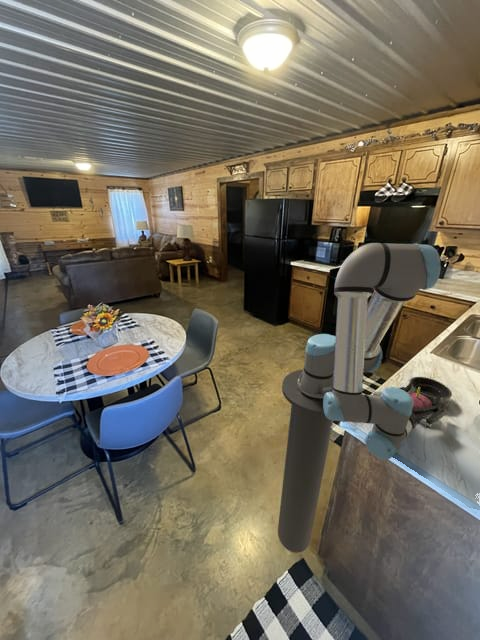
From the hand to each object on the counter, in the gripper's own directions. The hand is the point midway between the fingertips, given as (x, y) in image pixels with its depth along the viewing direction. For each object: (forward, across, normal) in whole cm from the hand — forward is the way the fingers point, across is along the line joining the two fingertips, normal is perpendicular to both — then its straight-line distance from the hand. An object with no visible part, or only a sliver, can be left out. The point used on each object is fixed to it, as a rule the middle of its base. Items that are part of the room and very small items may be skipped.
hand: (424, 392), depth 94 cm
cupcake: (-5, 0, -7) cm, 8 cm away
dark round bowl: (+8, 0, -7) cm, 11 cm away
